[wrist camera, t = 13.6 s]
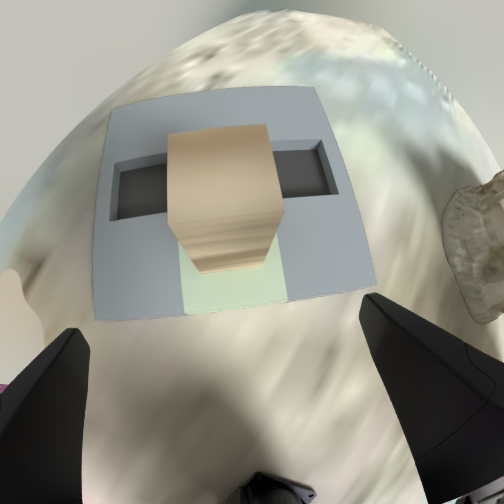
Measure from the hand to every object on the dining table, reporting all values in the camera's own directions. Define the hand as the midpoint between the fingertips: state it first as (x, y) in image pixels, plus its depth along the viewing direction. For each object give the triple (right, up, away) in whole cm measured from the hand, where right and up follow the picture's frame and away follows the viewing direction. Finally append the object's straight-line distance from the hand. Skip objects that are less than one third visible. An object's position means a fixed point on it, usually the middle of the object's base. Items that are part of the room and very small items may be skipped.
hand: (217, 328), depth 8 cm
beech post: (-1, +3, +13) cm, 13 cm away
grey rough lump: (+29, +2, +17) cm, 34 cm away
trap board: (-2, +8, +16) cm, 18 cm away
